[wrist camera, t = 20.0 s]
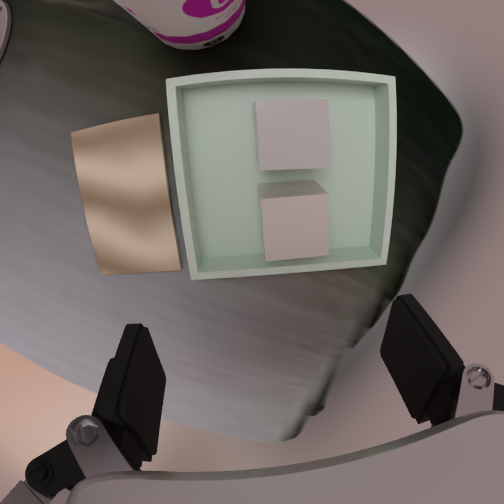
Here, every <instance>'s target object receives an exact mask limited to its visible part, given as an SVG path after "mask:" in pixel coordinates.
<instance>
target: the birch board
mask: <svg viewBox="0 0 504 504" xmlns="http://www.w3.org/2000/svg"><path fill="white" fill-rule="evenodd" d="M71 139H72V146H73V153H74V160H75V166H76V172H77V177H78V183H79V188H80V193H81V198H82V203H83V208H84V212H85V216H86V221H87V225H88V229H89V233H90V237H91V241H92V245H93V248H94V252H95V255H96V259H97V262H98V266H99V269H100V273H101V275H112V274H129V273H146V272H162V271H178V270H181V269H182V264H181V259H180V253H179V247H178V241H177V235H176V229H175V223H174V217H173V210H172V204H171V197H170V190H169V182H168V175H167V167H166V159H165V150H164V141H163V132H162V122H161V113H157V114H151V115H145V116H140V117H135V118H130V119H125V120H120V121H116V122H111V123H107V124H102V125H98V126H94V127H90V128H86V129H83V130H79V131H75V132H72V133H71Z"/></svg>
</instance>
